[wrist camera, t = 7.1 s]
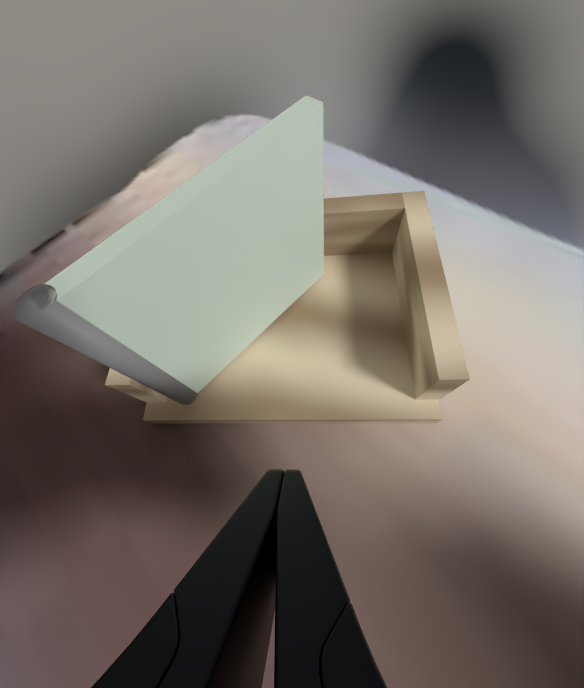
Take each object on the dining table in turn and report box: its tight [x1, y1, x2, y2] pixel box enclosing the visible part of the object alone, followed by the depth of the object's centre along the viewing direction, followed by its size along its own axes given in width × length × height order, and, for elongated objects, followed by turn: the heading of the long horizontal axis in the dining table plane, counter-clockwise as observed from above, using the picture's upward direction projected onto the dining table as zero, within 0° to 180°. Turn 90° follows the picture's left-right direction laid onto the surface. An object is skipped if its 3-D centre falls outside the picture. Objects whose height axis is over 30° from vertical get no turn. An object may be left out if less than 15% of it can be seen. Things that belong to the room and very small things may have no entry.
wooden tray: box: [105, 191, 470, 423], centre depth 17 cm, size 12×16×4 cm
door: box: [13, 96, 324, 405], centre depth 13 cm, size 1×12×10 cm, turn 136°
